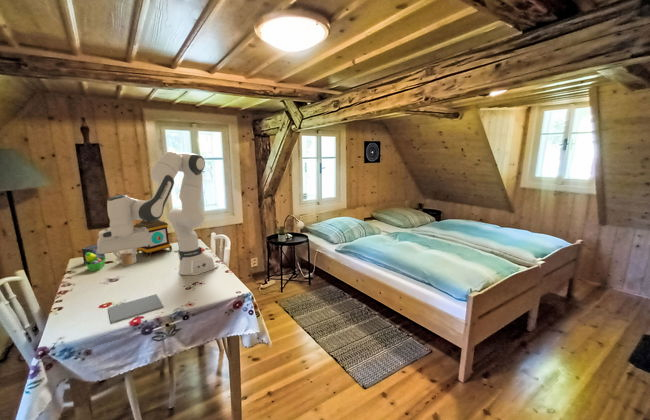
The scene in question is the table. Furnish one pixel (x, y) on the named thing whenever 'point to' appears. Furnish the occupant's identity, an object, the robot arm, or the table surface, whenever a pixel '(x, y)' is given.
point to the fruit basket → (94, 262)
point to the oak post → (126, 257)
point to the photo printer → (131, 252)
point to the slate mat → (134, 308)
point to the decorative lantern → (155, 236)
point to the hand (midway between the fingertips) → (126, 258)
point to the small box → (92, 250)
